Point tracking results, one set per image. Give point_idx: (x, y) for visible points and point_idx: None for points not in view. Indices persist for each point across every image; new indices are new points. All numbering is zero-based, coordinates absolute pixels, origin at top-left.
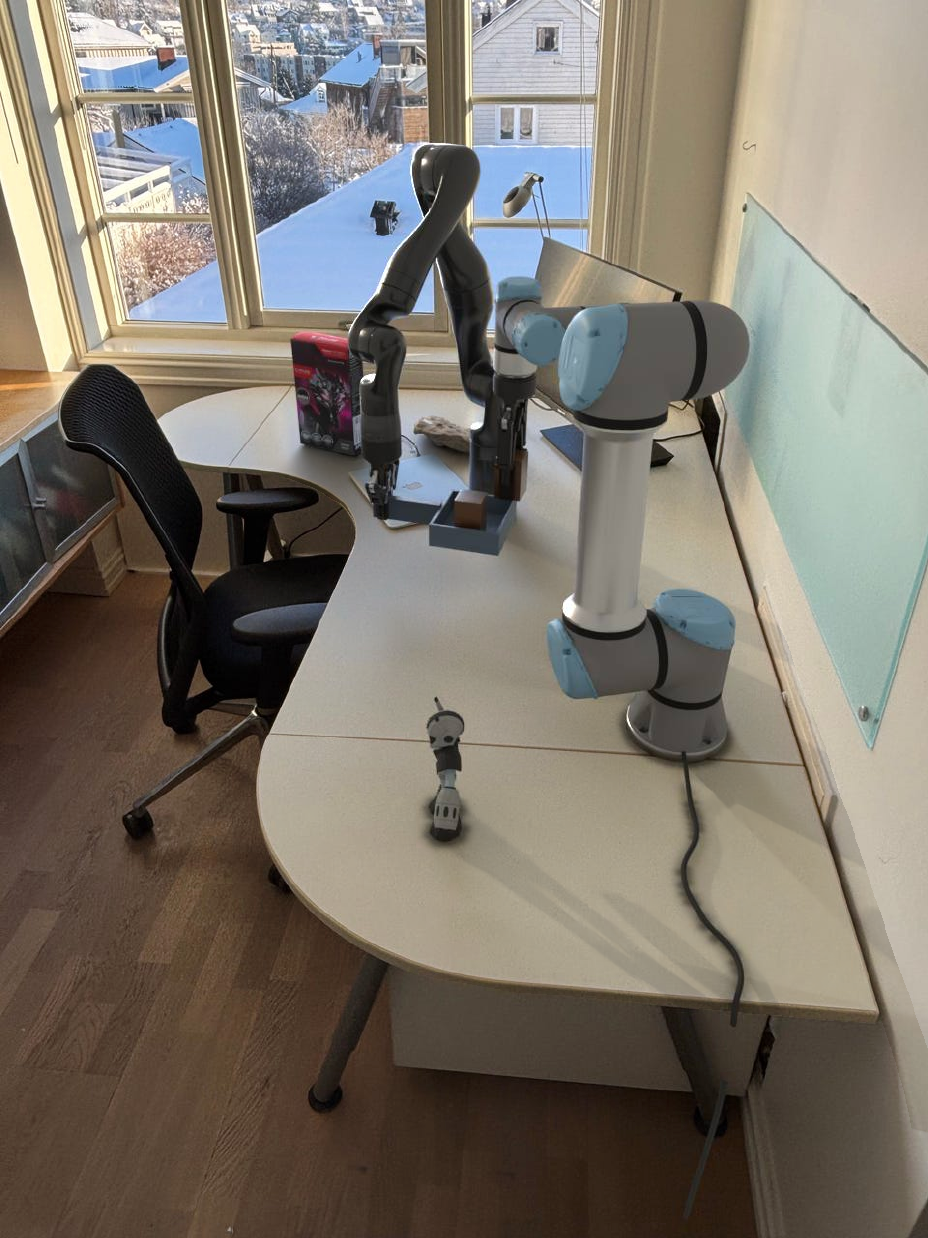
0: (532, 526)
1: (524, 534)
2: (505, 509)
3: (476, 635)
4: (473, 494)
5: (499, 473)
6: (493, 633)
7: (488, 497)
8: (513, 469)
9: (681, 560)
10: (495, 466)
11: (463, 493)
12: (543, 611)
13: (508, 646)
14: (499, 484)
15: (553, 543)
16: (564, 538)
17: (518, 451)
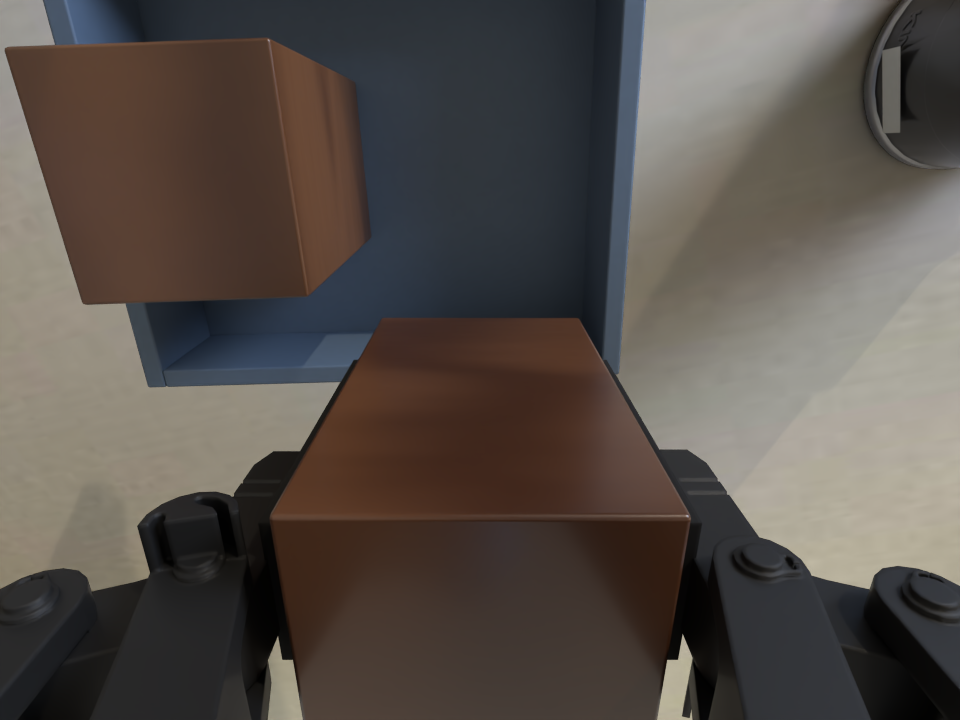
0: (834, 278)
1: (767, 264)
2: (589, 292)
3: (67, 276)
4: (215, 191)
5: (288, 473)
6: (106, 323)
7: (606, 195)
8: (282, 648)
9: (673, 688)
10: (155, 516)
11: (189, 90)
12: (290, 430)
13: (69, 380)
14: (322, 417)
15: (713, 375)
16: (754, 401)
17: (600, 712)
